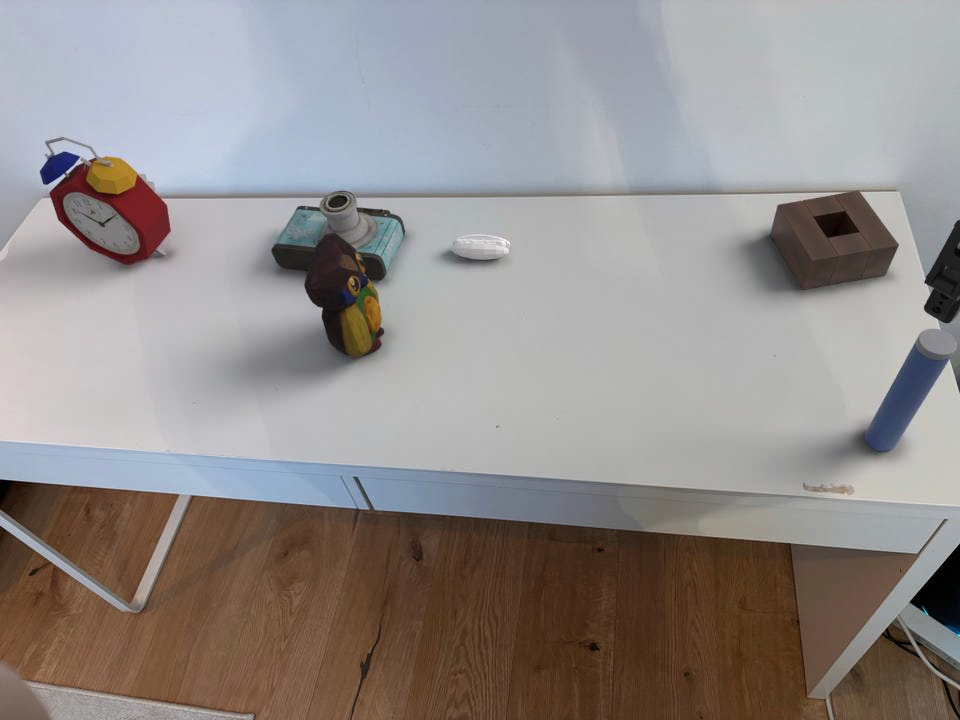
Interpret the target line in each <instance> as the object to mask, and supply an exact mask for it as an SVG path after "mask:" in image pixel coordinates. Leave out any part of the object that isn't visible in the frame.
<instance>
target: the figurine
mask: <svg viewBox="0 0 960 720" xmlns="http://www.w3.org/2000/svg"><path fill="white" fill-rule="evenodd" d="M364 273H365V267H364V263H363V260H362V258H361V256H360V254H359V253H358V252H357V251H356V249H355V248H354V247H352V246H351V245H350V244H349V243H348V242H346V241H345V240H344V239H342V238H341V237H340V236H338V235H337V234H336V233H335V232H334V233H330V234H326V235H325V236H324V237H323V238H322V240H321V241H320V242H319V243H318V244H317V246H316V248H315V251H314V254H313V257H312V259H311V262H310V264H309V266H308V271H306V277H305V280H304V284H303V286H304V289H305V293H306V294H307V297H308V298H309V300H310V302H311V303H312V304H313V305H315V306H316V307H317V308H321V309H322V310H321V320H322V323H323V327H324V330H325V334H326V337H327V340H328V343H329V344H330V345H331V347H333V348H334V349H335V350H336V351H337V352H339V353H341V354H342V355H344V356H346V357H349V358H351V357H352V358H355V357H356V358H359V357H362V356H364V355H368V354H369V353H373V352H376V351H379V350H380V348H381V347H382V345H383V343H382V341H381V340H380V338H381V337H383V336H384V335H385V329H384V328H383V327H382V326H381V325H382V319H383V318H382V310H381V305H380V300H379V299H380V298H379V294H378V290H377V289H376V287H375V286H374V284H373V283H372V281H371V279H369V278H368V277H367V276H366V275H365V274H364Z"/></svg>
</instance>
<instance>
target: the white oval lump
mask: <svg viewBox="0 0 960 720" xmlns="http://www.w3.org/2000/svg"><path fill="white" fill-rule="evenodd" d="M510 248H511V242H510V241H509V240H507V239H505V238H503V237H500V236H496V235H490V234H475V233H474V234H465V235H461V236H458V237H456V238H455V239H453V241H452V246H451V252H452V253H454V254H455V255H458V256H459V257H462V258H465V259H471V260H481V261H482V260H483V261H487V260H488V261H489V260H496V259H499V258H502V257H506V256H507V255H508V254H509V253H510Z"/></svg>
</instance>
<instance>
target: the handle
mask: <svg viewBox="0 0 960 720" xmlns="http://www.w3.org/2000/svg"><path fill="white" fill-rule="evenodd" d="M957 348H958V343H957V340H956V338H954V336H953V335H952V334H950V333H949V332H947V331H945V330H943V329H939V328H927V329H924V330H922V331H921V332H920V333H919V334H918V336H917V338H916V340H915V342H914V343H913V345H912V347H911V349H910V351H909V353H908V355H907V356H906V358H905V360H904V361H903V363H902V365H901V367H900V369H899V371H898V372H897V375H896V377H895V378H894V380H893V382H892V383H891V385H890V387H889V389H888V391H887V392H886V395H885V396H884V398H883V400H882V402H881V404H880V405H879V407H878V409H877V411H876V412H875V415H874V417H872V420H871V421H870V424H869V425H868V427H867V429H866V431H865V433H864V439H865V442H866V444H867V445H868V446H869V447H870V448H872V449H873V450H876V451H877V452H883V453H885V452H890V451H892V450H894V449H895V448H896V446H897V445H898V443H899V441H900V440H901V439H902V437H903V435H904V433H905V432H906V430H907V429H908V427H909V425H910V424H911V422H912V421H913V419H914V417H915V416H916V414H917V413H918V412H919V409H920V408H921V406H922V405H923V403H924V401H925V400H926V398H927V397H928V395H929V394H930V392H931V390H932V389H933V387H934V386H935V384H936V383H937V380H938V379H939V377H940V376H941V374H942V372H943V371H944V369H945V368H946V366H947V365H948V363H949V361H950V359H952V357H953V355H954V353H956V351H957Z"/></svg>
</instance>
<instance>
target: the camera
mask: <svg viewBox="0 0 960 720" xmlns="http://www.w3.org/2000/svg"><path fill="white" fill-rule="evenodd" d="M334 232H335V233H336V234H337V235H338V236H340V237H341V238H342V239H344V240H345V241H346V242H348V243H349V244H350V245H351V246H352V247H354V248H355V249H356V251H357V252H358V253H359V254H360V256H361V258H362V260H363V263H364V267H365V273H364V274H365V275H366V276H367V277H368V279H369V280H383V279H384V278H385V277H386V275H387V273H388V270H390V266H391V265H392V262H393V260H394V258H395V256H396V254H397V252H398V249H399V248H400V245H401V243H402V241H403V239H404V237H405V235H406V229H405V224H404V222H403V219H402V217H401V216H399V215H398V214H395V213H391V211H390V210H389V209H383V208H371V207H370V208H369V207H358V200H357V197H356V194H354V193H353V192H352V191H349V190H336V191H333V192H330V193H328V194H327V195H325V196H324V197H323V198H322V199H321V200H320V202H319V206H309V205H298V206H297V207H296V209H295V210H294V212H293V213H292V215H291V216H290V218H289V220H288V221H287V223H286V225H285V226H284V228H283V229H282V231H281V233H280V235H279V236H278V237H277V239H276V241H275V242H274V244H273V246H272V248H271V249H270V250H271V251H270V252H271V254H272V256H273V258H274V261H275V263H276V264H277V265H278V266H279V267H280V268H283V269H285V270H292V271H301V272H308V266H309V264H310V262H311V259H312V257H313V254H314V251H315V248H316V246H317V244H318V243H319V242H320V241H321V240H322V238H323V237H324V236H325V235H326V234H330V233H334Z"/></svg>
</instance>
